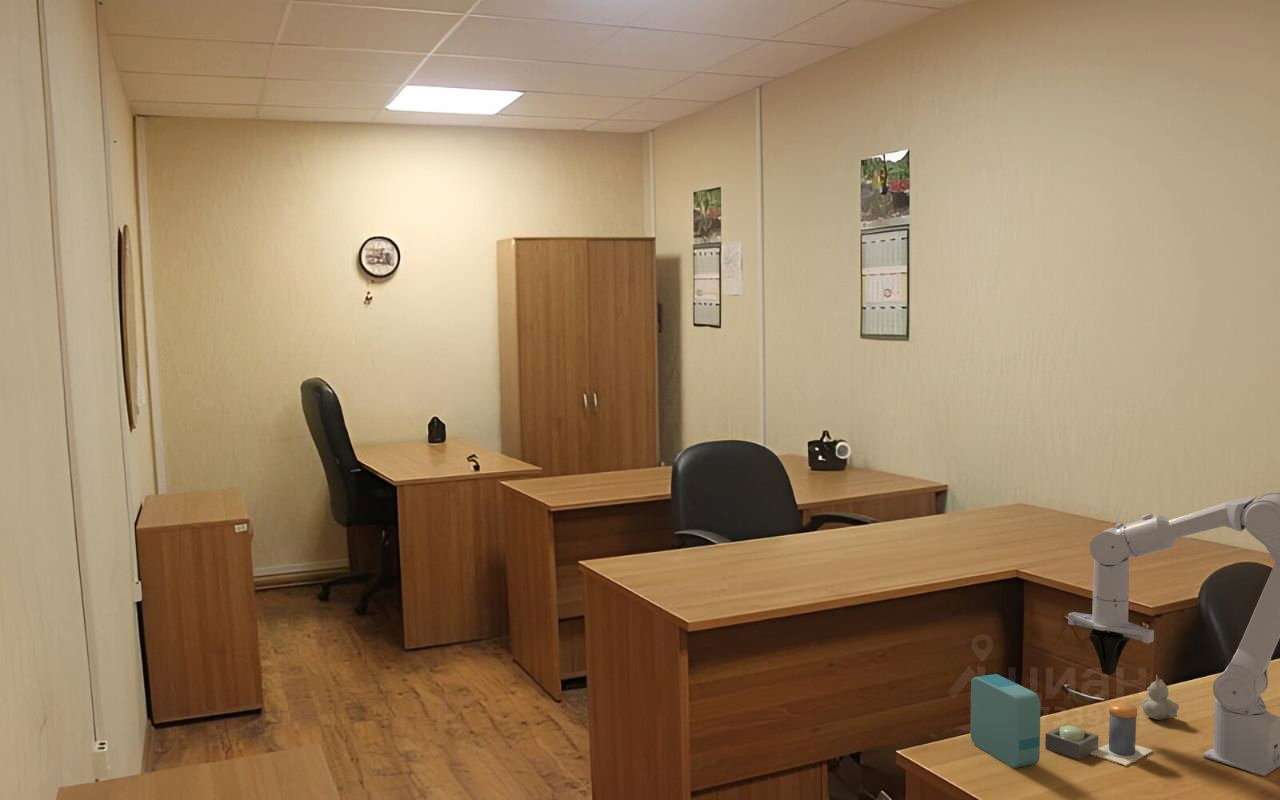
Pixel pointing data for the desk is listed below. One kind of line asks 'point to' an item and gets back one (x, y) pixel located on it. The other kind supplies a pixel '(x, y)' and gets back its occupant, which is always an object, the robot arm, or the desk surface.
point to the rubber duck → (1159, 702)
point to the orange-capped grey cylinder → (1122, 728)
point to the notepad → (1120, 759)
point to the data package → (1005, 720)
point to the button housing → (1071, 744)
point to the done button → (1072, 732)
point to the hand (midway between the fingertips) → (1108, 672)
